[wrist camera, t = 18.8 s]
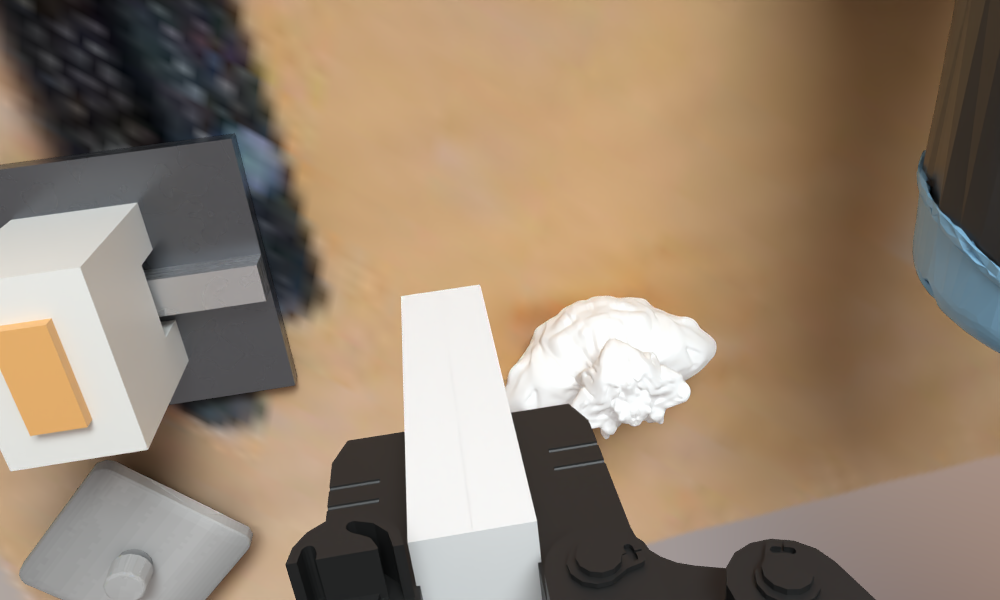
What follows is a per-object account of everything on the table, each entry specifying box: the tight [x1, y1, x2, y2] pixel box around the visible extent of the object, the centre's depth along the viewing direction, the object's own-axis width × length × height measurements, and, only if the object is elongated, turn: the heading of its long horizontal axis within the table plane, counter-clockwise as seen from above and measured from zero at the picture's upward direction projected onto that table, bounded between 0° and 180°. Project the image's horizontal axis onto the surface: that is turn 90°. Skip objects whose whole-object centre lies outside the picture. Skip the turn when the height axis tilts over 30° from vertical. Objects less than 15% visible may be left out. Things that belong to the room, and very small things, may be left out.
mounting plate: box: [0, 134, 297, 405], centre depth 40 cm, size 16×14×2 cm
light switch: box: [19, 460, 253, 600], centre depth 46 cm, size 10×10×5 cm
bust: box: [505, 296, 717, 439], centre depth 42 cm, size 12×8×11 cm
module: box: [0, 203, 189, 471], centre depth 37 cm, size 6×9×9 cm, turn 6°
